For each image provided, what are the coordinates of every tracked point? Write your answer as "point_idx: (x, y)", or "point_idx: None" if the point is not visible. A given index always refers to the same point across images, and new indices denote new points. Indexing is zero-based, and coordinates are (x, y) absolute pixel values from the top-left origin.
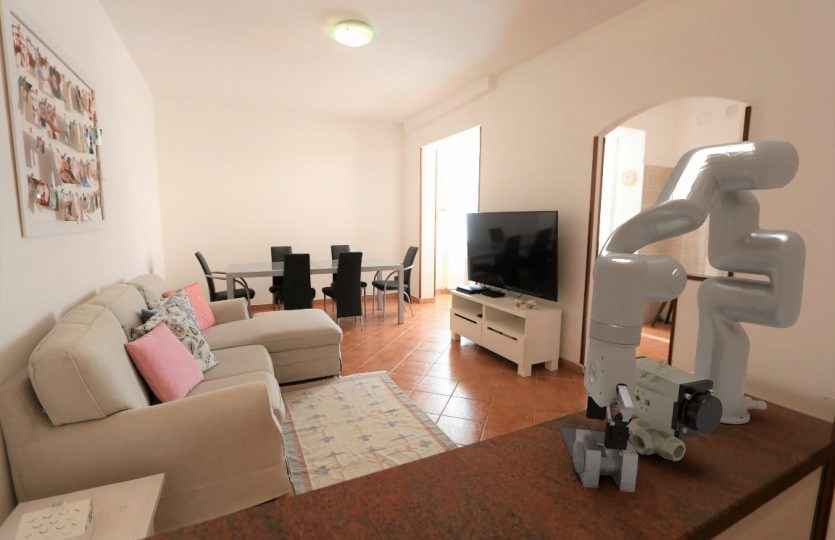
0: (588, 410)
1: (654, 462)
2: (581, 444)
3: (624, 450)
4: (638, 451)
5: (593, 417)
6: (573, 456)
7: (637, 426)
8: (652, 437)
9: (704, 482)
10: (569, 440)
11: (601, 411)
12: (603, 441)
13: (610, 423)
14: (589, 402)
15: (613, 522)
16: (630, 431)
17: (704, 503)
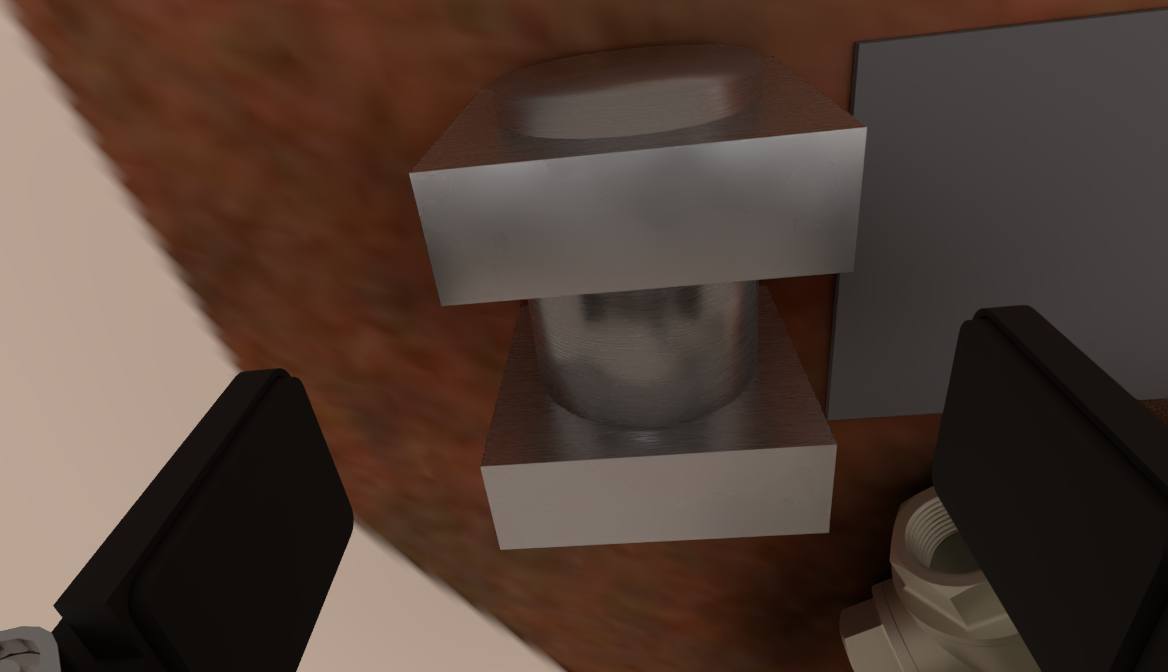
0: (1021, 376)
1: (847, 530)
2: (611, 137)
3: (533, 481)
4: (923, 497)
5: (957, 384)
6: (710, 49)
7: None
8: (946, 636)
9: (707, 651)
10: (1113, 63)
11: (985, 522)
12: (1076, 329)
13: (48, 652)
14: (1111, 471)
15: (207, 207)
16: None
17: (548, 605)
